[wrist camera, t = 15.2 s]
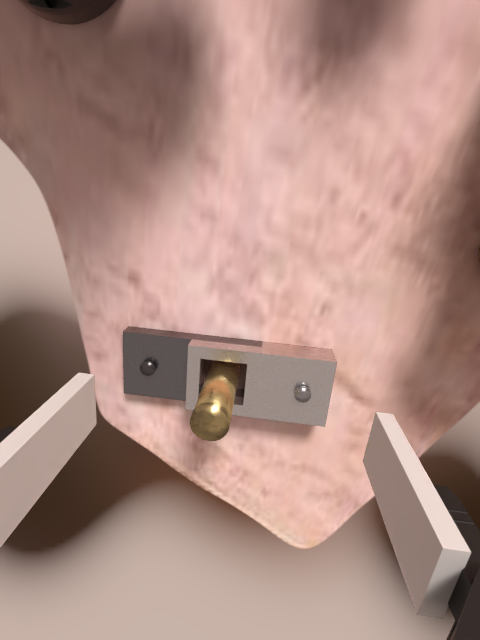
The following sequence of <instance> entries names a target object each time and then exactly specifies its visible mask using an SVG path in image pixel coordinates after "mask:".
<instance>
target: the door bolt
mask: <svg viewBox="0 0 480 640" xmlns="http://www.w3.org/2000/svg"><path fill="white" fill-rule="evenodd" d="M205 359H208V360H216V361H225V362H234V363H242V364H247V372H246V382H245V390H241V389H237V390H236V395H235V400H234V405H233V410H232V415H235V416H243V417H251V418H259V419H267V420H275V421H283V422H291V423H299V424H308V425H316V426H324V427H325V424H326V418H327V413H328V408H329V402H330V397H331V392H332V386H333V381H334V376H335V371H336V365H337V361H336V358H335V356H334V354H333V351H332V349H324V348H316V347H307V346H298V345H289V344H280V343H271V342H262V341H253V340H244V339H235V338H226V337H218V336H209V335H200V334H191V333H182V332H173V331H164V330H155V329H146V328H137V327H128V328H126V329H125V330H124V331H123V368H124V393H126V394H134V395H142V396H150V397H159V398H167V399H175V400H183V401H186V407H185V409H187V410H194V408H195V405H196V403H197V400H198V398H199V395H200V393H201V390H202V388H203V385H204V375H205Z"/></svg>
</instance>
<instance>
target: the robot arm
mask: <svg viewBox="0 0 480 640" xmlns="http://www.w3.org/2000/svg"><path fill="white" fill-rule="evenodd" d="M19 1H20V2H21V3H23V4H24V5H25V6H26V7H28V8H29V9H30V10H31V11H33V12H34V13H36V14H37V15H39V16H41V17H43V18H45V19H47V20H50V21H53V22H57V23H63V24H76V23H82V22H85V21H88V20H91V19H93V18H95V17H97V16H99V15H100V14H102V13H103V12H104V11H105V10H107V9H108V8H109V7H110V6H111V5H112V4H113V2H114V1H115V0H19ZM95 425H96V401H95V376H94V375H93V374H85V373H78V374H77V375H75V377H73V378H72V379H71V380H70V381H69V382H68V383H67V384H66V385H64V386H63V387H62V388H61V389H60V390H59V391H58V392H57V393H55V395H53V396H52V397H51V398H50V399H49V400H48V401H47V402H45V403H44V404H43V405H42V406H41V407H40V408H39V409H38V410H36V411H35V412H34V413H33V414H32V415H31V416H30V417H29V418H28V419H27V420H25V421H24V422H23V423H22V424H21V425H20V426H19V427H11V426H9V427H7V428H5V429H3V430H1V431H0V547H1V546H2V545H3V543H4V542H5V541H6V539H7V538H8V537H9V536H10V534H11V533H12V532H13V530H14V529H15V528H16V526H17V525H18V524H19V522H20V521H21V520H22V519H23V518H24V516H25V515H26V514H27V512H28V511H29V510H30V509H31V507H32V506H33V505H34V503H35V502H36V501H37V500H38V498H39V497H40V496H41V494H42V493H43V492H44V491H45V489H46V488H47V487H48V486H49V484H50V483H51V482H52V480H53V479H54V478H55V477H56V475H57V474H58V473H59V471H60V470H61V469H62V468H63V466H64V465H65V464H66V462H67V461H68V460H69V459H70V457H71V456H72V455H73V453H74V452H75V451H76V450H77V448H78V447H79V446H80V445H81V443H82V442H83V440H84V439H85V438H86V437H87V436H88V434H89V433H90V432H91V430H92V429H93V428H94V427H95ZM363 463H364V466H365V469H366V471H367V474H368V477H369V480H370V483H371V486H372V489H373V491H374V494H375V497H376V500H377V502H378V506H379V508H380V511H381V514H382V517H383V520H384V522H385V526H386V528H387V531H388V534H389V537H390V540H391V543H392V545H393V548H394V551H395V554H396V557H397V560H398V562H399V565H400V568H401V571H402V574H403V577H404V579H405V583H406V585H407V588H408V591H409V594H410V597H411V600H412V603H413V605H414V608H415V611H416V614H417V615H422V616H429V617H435V618H443V616H444V614H445V612H446V610H447V607H448V605H449V607H450V609H451V612H452V614H453V616H454V618H455V622H454V624H453V626H452V629H451V631H450V633H449V635H448V637H447V640H480V531H479V530H478V528H477V526H476V525H474V522H473V520H472V518H471V517H470V515H469V514H467V510H466V509H465V507H464V506H463V504H462V503H461V501H460V499H459V498H458V497H457V496H456V495H455V494H454V493H453V492H451V491H450V490H449V489H448V488H447V487H444V486H437V485H433V484H432V482H431V480H430V479H429V477H428V475H427V473H426V471H425V470H424V468H423V466H422V465H421V463H420V461H419V459H418V457H417V456H416V454H415V452H414V450H413V449H412V447H411V445H410V443H409V442H408V440H407V438H406V436H405V435H404V433H403V431H402V429H401V427H400V426H399V424H398V422H397V420H396V419H395V417H394V415H393V414H388V413H380V412H376V413H375V417H374V421H373V425H372V428H371V432H370V436H369V440H368V443H367V447H366V451H365V455H364V459H363Z"/></svg>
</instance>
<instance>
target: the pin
mask: <svg viewBox="0 0 480 640" xmlns="http://www.w3.org/2000/svg"><path fill="white" fill-rule="evenodd" d="M239 374H240V365H239V363H234V362H225V361H216V360H213V362H212V364H211V367H210V370H209V372H208V375H207V377H206V380H205V382H204V385H203V388H202V390H201V393H200V395H199V398H198V400H197V403H196V405H195V408H194V411H193V413H192V416H191V419H190V426H191V429H192V431H193V432H194V434H195V435H196V436H198V437H199V438H201V439H203V440H207V441H216V440H219V439H221V438H223V437H224V436H225V435H226V434H227V432H228V430H229V425H230V420H231V415H232V410H233V405H234V400H235V395H236V390H237V385H238V380H239Z"/></svg>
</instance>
